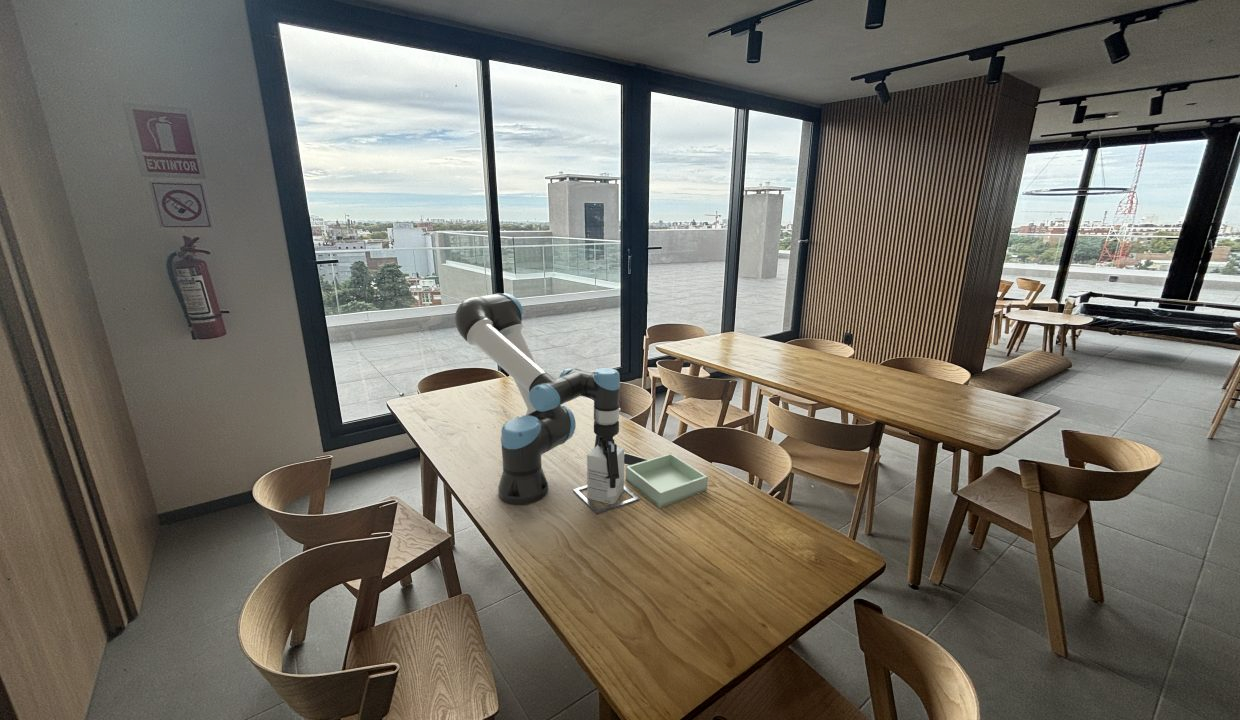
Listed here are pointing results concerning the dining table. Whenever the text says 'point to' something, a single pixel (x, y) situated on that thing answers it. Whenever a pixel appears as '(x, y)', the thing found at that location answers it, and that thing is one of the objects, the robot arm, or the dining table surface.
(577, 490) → the white square frame
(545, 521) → the dining table surface
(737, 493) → the dining table surface
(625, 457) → the cell phone
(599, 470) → the supplement box
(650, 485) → the bin
